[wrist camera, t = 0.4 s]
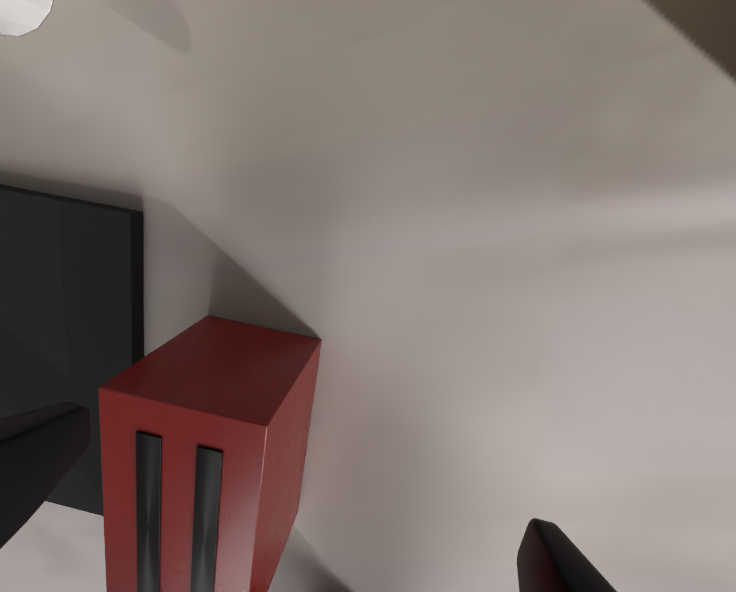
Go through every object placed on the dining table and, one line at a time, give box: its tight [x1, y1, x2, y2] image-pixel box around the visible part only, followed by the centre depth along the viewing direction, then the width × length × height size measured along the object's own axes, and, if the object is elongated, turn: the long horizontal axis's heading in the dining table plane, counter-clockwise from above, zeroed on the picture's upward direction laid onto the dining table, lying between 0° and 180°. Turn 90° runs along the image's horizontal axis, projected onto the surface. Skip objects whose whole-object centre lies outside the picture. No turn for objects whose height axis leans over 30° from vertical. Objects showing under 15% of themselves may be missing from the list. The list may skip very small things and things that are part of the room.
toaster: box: [98, 316, 322, 592], centre depth 21 cm, size 13×6×8 cm, turn 170°
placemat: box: [0, 185, 143, 516], centre depth 25 cm, size 20×15×1 cm
